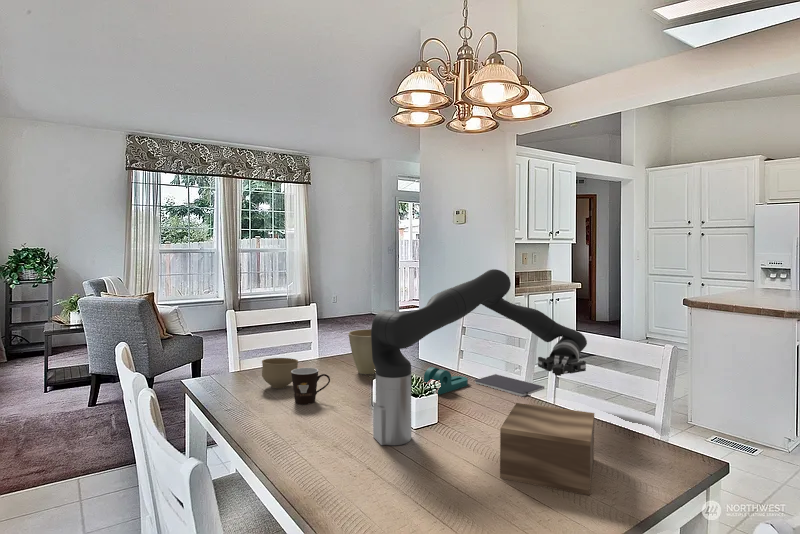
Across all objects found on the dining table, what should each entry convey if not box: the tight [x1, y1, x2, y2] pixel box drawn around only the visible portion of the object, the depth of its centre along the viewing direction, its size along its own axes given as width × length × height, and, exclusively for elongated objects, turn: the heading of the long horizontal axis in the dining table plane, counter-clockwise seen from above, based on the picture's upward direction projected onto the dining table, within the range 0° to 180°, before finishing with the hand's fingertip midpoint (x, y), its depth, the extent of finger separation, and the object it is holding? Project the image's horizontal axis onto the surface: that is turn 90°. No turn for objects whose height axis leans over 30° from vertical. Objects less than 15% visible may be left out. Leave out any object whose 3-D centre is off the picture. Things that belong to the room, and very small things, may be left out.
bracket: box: [423, 366, 469, 396], centre depth 170 cm, size 18×7×8 cm, turn 134°
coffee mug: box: [291, 367, 331, 406], centre depth 154 cm, size 12×9×10 cm
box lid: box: [499, 402, 595, 446], centre depth 108 cm, size 18×18×1 cm
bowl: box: [261, 357, 299, 390], centre depth 171 cm, size 13×13×10 cm
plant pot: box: [347, 328, 376, 375], centre depth 190 cm, size 15×15×16 cm
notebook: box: [474, 373, 545, 397], centre depth 172 cm, size 13×2×21 cm
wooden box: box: [499, 422, 595, 496], centre depth 108 cm, size 18×18×10 cm
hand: (557, 371), depth 122 cm, fingers closed
